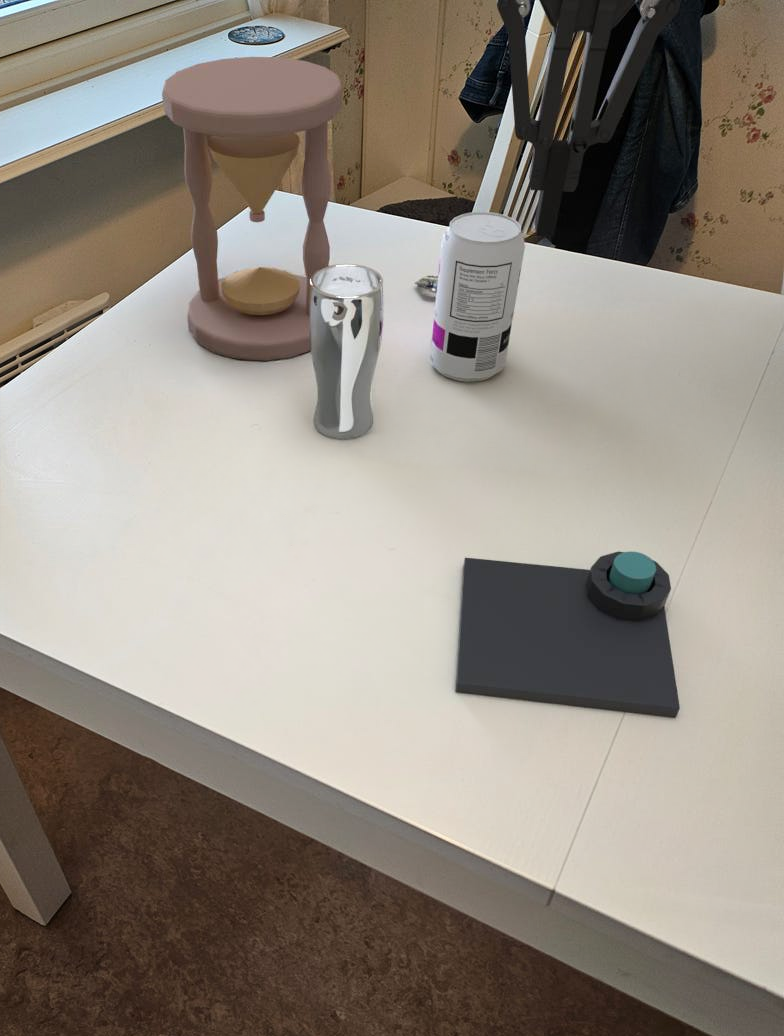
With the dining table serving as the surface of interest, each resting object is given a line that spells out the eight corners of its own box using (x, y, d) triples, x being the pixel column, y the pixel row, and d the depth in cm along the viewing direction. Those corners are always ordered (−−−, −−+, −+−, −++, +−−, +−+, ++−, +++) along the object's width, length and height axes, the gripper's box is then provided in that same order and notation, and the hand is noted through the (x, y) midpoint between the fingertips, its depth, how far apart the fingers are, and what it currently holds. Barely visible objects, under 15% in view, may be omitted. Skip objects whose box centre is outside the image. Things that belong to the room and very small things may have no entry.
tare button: (648, 569, 73) (654, 553, 71) (652, 596, 71) (658, 580, 69) (607, 565, 73) (612, 549, 72) (610, 592, 71) (615, 576, 70)
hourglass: (158, 337, 104) (124, 94, 85) (239, 276, 114) (224, 47, 96) (290, 376, 98) (284, 124, 79) (363, 308, 108) (373, 70, 90)
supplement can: (413, 363, 99) (425, 225, 88) (463, 338, 103) (481, 202, 92) (469, 393, 95) (489, 252, 84) (519, 365, 99) (544, 227, 88)
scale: (656, 582, 75) (666, 555, 73) (676, 718, 66) (688, 692, 63) (463, 563, 77) (467, 536, 75) (455, 693, 68) (459, 666, 65)
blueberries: (408, 281, 112) (410, 266, 111) (470, 275, 113) (472, 260, 112) (423, 307, 108) (424, 291, 107) (487, 300, 109) (489, 285, 107)
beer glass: (389, 417, 92) (399, 274, 81) (353, 450, 88) (359, 306, 77) (333, 396, 95) (335, 255, 84) (295, 428, 91) (292, 285, 80)
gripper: (511, -130, 57) (465, 244, 74) (725, -128, 55) (628, 252, 73) (509, -147, 62) (466, 207, 79) (705, -146, 60) (618, 214, 78)
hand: (544, 229), depth 76 cm, fingers closed
